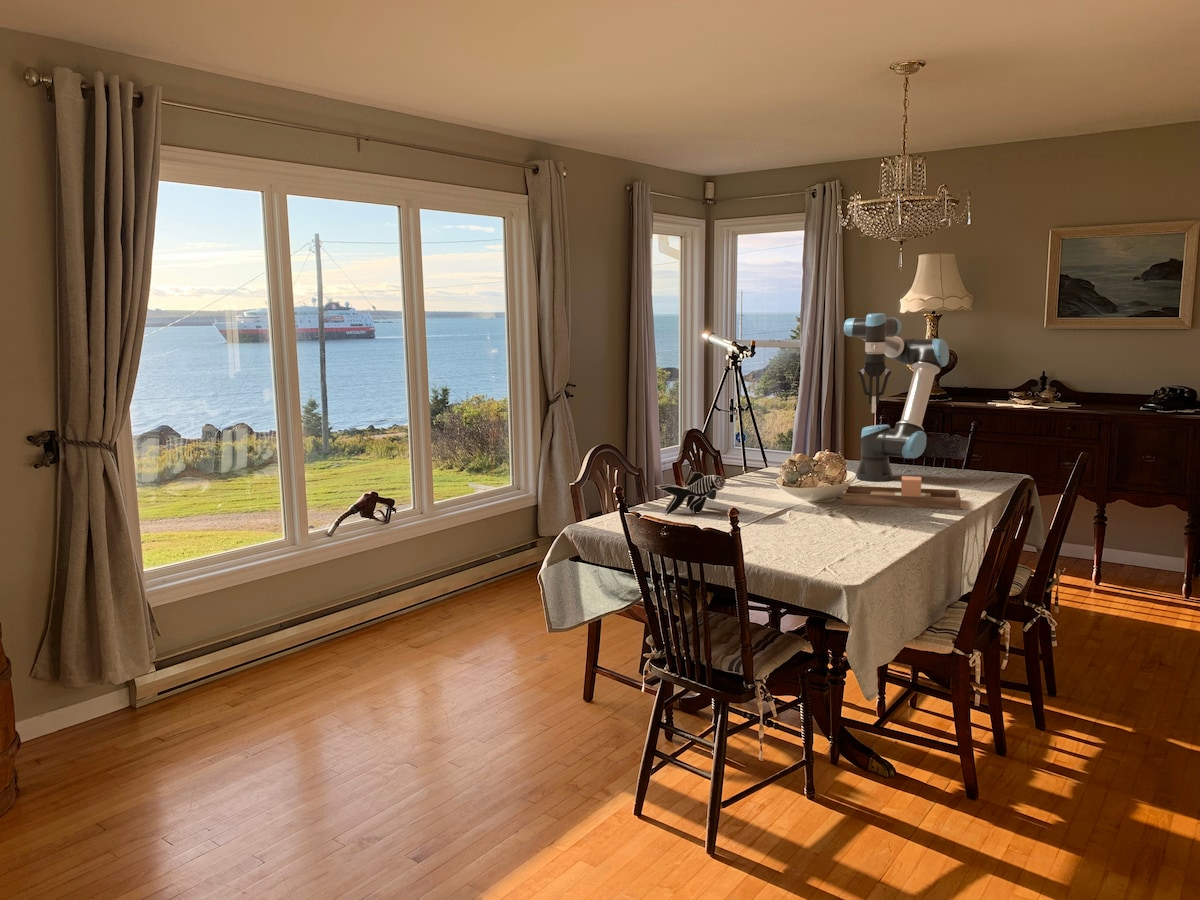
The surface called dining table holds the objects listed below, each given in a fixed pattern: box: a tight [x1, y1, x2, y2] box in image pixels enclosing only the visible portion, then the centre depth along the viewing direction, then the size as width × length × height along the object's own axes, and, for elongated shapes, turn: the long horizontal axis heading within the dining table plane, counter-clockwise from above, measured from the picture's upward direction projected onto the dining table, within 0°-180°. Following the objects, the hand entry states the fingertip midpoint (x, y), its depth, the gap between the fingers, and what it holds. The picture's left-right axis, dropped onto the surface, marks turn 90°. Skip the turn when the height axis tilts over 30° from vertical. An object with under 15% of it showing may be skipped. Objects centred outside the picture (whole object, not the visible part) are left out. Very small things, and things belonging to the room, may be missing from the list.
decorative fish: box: [654, 471, 727, 516], centre depth 335 cm, size 16×26×15 cm, turn 102°
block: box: [900, 475, 922, 496], centre depth 342 cm, size 7×7×7 cm
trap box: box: [841, 485, 962, 510], centre depth 344 cm, size 16×42×4 cm, turn 71°
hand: (873, 412), depth 358 cm, fingers closed
